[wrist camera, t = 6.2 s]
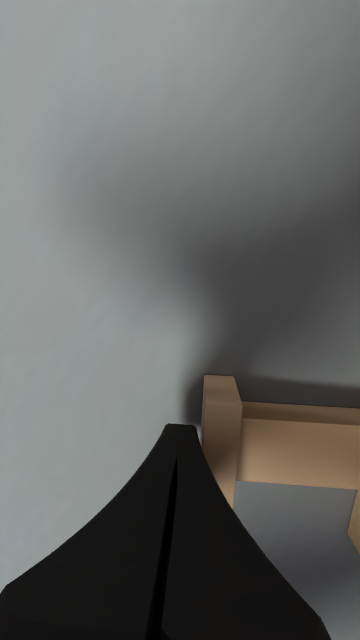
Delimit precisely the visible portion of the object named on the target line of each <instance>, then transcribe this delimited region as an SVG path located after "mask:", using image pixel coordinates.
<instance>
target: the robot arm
mask: <svg viewBox="0 0 360 640" xmlns="http://www.w3.org/2000/svg"><path fill="white" fill-rule="evenodd" d="M0 640H331V638H330V636H329V634H328V632H327V630H326V628H325V626H324V624H323V622H322V620H321V618H320V617H319V616H318V615H317V614H316V612H315V611H314V610H313V609H312V608H311V607H310V606H309V605H308V604H307V603H306V602H305V601H304V600H303V599H302V597H301V596H300V595H299V594H298V593H297V592H296V591H295V590H294V589H293V587H292V586H291V585H290V584H289V583H288V582H287V581H286V580H285V578H284V577H283V576H282V575H281V574H280V572H279V571H278V570H277V569H276V568H275V566H274V565H273V564H272V563H271V562H270V560H269V559H268V558H267V557H266V555H265V554H264V553H263V551H262V550H261V549H260V547H259V546H258V545H257V543H256V542H255V541H254V539H253V538H252V537H251V535H250V534H249V533H248V531H247V530H246V529H245V527H244V526H243V524H242V523H241V521H240V520H239V518H238V517H237V515H236V514H235V512H234V511H233V509H232V508H231V506H230V504H229V503H228V501H227V499H226V498H225V496H224V494H223V492H222V491H221V489H220V487H219V485H218V483H217V481H216V479H215V477H214V475H213V473H212V471H211V469H210V467H209V465H208V462H207V460H206V458H205V455H204V453H203V450H202V448H201V445H200V442H199V438H198V435H197V429H196V427H195V426H194V425H184V424H169V423H168V424H167V425H166V426H165V428H164V430H163V432H162V434H161V436H160V437H159V439H158V441H157V442H156V444H155V446H154V447H153V449H152V450H151V452H150V453H149V455H148V456H147V458H146V459H145V460H144V462H143V463H142V465H141V466H140V467H139V468H138V470H137V471H136V472H135V474H134V475H133V476H132V477H131V479H130V480H129V481H128V482H127V483H126V485H125V486H124V487H123V488H122V489H121V490H120V491H119V492H118V494H117V495H116V496H115V497H114V498H113V499H112V500H111V501H110V502H109V503H108V504H107V505H106V506H105V507H104V508H103V509H102V510H101V511H100V512H99V513H98V514H97V515H96V516H95V517H94V518H93V519H91V520H90V521H89V522H88V523H87V524H86V525H85V526H84V527H83V528H81V529H80V530H79V531H78V532H77V533H75V534H74V535H73V536H72V537H71V538H69V539H68V540H67V541H66V542H65V543H63V544H62V545H61V546H60V547H59V548H57V549H56V550H55V551H53V552H52V553H51V554H50V555H48V556H47V557H46V558H44V559H43V560H41V561H40V562H39V563H37V564H36V565H34V566H33V567H32V568H30V569H29V570H28V571H26V572H25V573H23V574H22V575H21V576H19V577H18V578H16V579H15V580H13V581H12V582H10V583H9V584H7V585H6V586H5V588H4V589H3V590H2V592H1V593H0Z"/></svg>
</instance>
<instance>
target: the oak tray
mask: <svg viewBox="0 0 360 640" xmlns="http://www.w3.org/2000/svg"><path fill="white" fill-rule="evenodd" d="M200 445H201V448H202V450H203V453H204V455H205V458H206V460H207V462H208V465H209V467H210V469H211V471H212V473H213V475H214V477H215V479H216V481H217V483H218V485H219V487H220V489H221V491H222V492H223V494H224V496H225V498H226V499H227V501H228V503H229V504H230V506H231V508H232V509H233V500H234V490H235V480H238V481H251V482H264V483H277V484H290V485H303V486H317V487H330V488H343V489H356V490H357V493H356V498H355V502H354V506H353V510H352V515H351V519H350V523H349V527H348V532H347V533H348V535H349V537H350V539H351V540H352V542H353V544H354V546H355V548H356V550H357V552H358V553H359V555H360V409H359V408H342V407H326V406H309V405H293V404H277V403H260V402H244V401H241V399H240V396H239V392H238V389H237V386H236V382H235V379H234V376H216V375H204V387H203V404H202V421H201V439H200Z"/></svg>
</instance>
